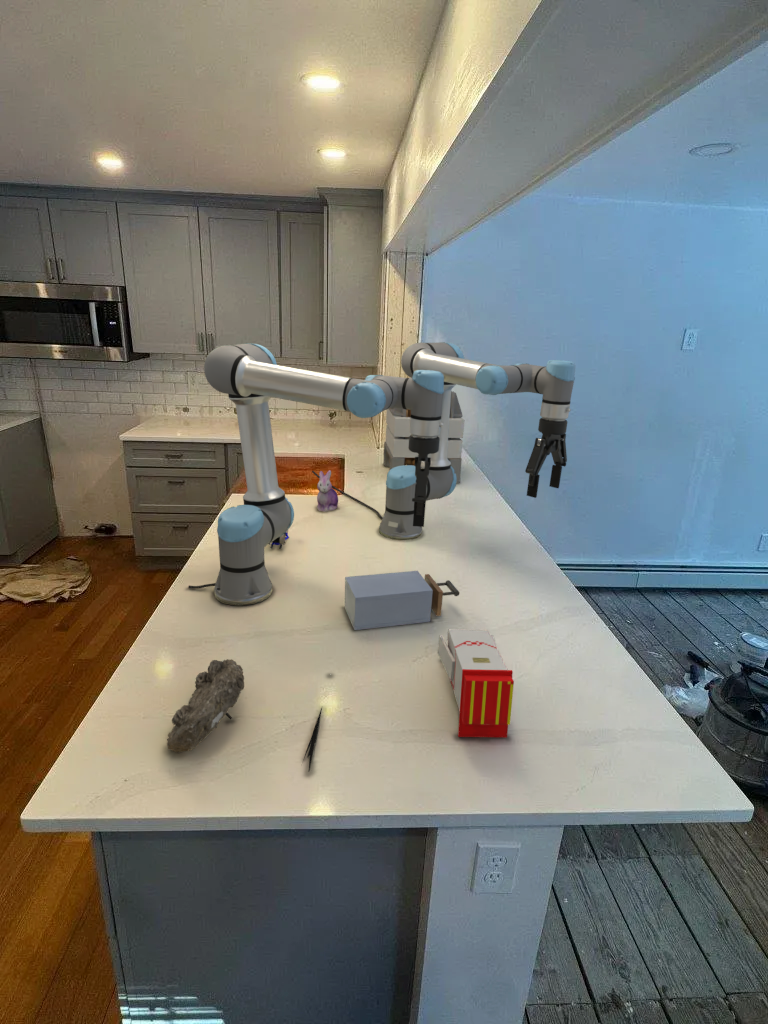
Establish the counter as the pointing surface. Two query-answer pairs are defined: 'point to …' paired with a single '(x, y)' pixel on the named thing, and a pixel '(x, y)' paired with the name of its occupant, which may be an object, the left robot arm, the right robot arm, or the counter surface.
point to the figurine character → (280, 540)
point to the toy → (478, 682)
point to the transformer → (399, 434)
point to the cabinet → (387, 599)
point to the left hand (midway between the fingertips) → (418, 516)
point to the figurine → (326, 493)
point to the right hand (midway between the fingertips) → (543, 491)
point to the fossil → (206, 705)
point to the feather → (313, 740)
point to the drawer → (439, 593)
